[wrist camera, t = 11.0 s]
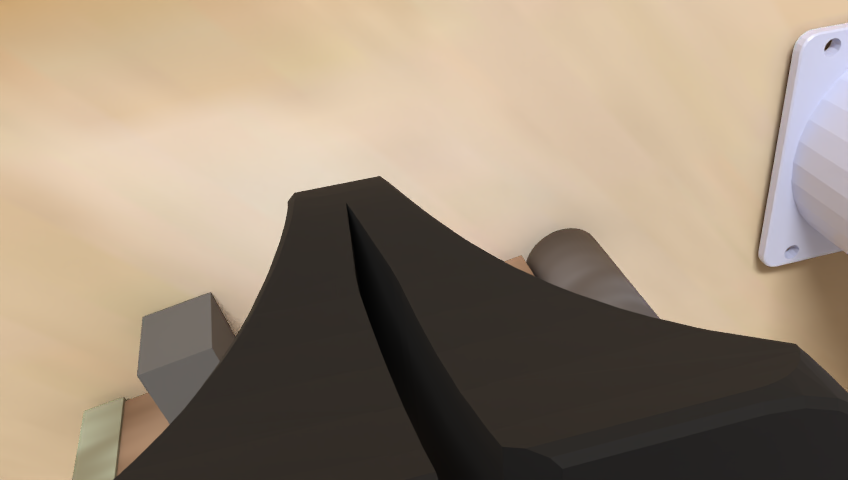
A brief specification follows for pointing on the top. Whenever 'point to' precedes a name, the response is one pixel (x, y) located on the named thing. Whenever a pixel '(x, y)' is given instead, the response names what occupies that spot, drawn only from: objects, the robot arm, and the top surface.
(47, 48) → the top surface
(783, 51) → the top surface
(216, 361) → the block
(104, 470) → the gate
